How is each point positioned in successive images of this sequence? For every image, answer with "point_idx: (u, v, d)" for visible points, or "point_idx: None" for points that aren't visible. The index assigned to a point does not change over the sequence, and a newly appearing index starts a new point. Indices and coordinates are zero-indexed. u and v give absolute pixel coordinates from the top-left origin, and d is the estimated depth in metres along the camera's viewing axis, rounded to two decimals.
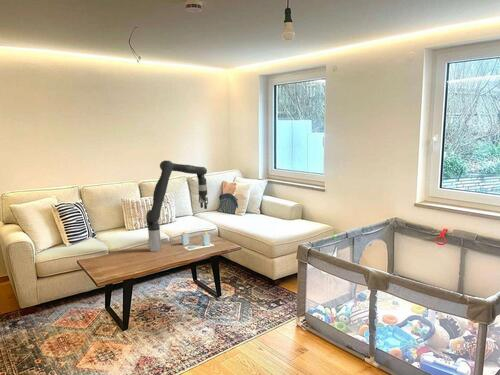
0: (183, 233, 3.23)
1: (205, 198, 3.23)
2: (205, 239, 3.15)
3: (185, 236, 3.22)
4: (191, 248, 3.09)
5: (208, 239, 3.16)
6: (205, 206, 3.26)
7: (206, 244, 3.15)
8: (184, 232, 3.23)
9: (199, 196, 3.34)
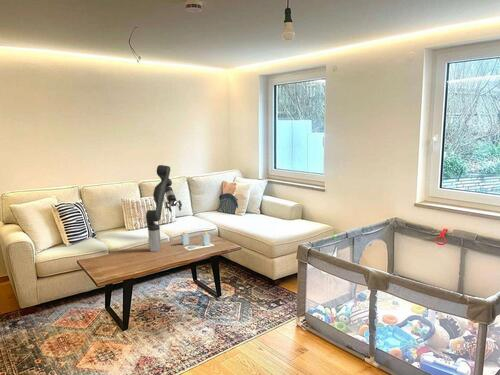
0: (183, 233, 3.23)
1: (180, 201, 3.47)
2: (205, 239, 3.15)
3: (185, 236, 3.22)
4: (191, 248, 3.09)
5: (208, 239, 3.16)
6: (180, 207, 3.43)
7: (206, 244, 3.15)
8: (184, 232, 3.23)
9: (166, 202, 3.41)
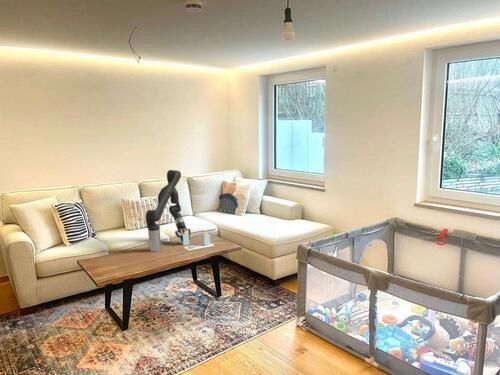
0: None
1: None
2: (205, 239, 3.15)
3: (185, 236, 3.22)
4: (191, 248, 3.09)
5: (208, 239, 3.16)
6: None
7: (206, 244, 3.15)
8: (185, 232, 3.23)
9: None
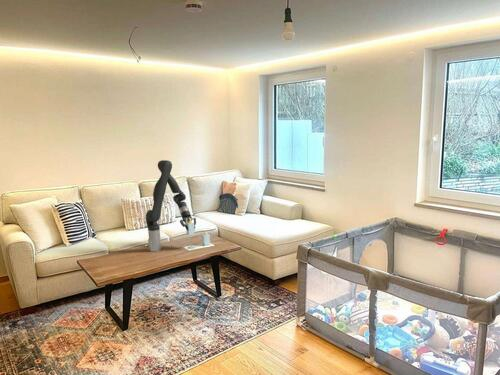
0: (189, 221, 3.09)
1: (195, 218, 3.16)
2: (205, 239, 3.15)
3: (191, 225, 3.08)
4: (191, 248, 3.09)
5: (208, 239, 3.16)
6: (194, 226, 3.12)
7: (206, 244, 3.15)
8: (190, 221, 3.10)
9: None
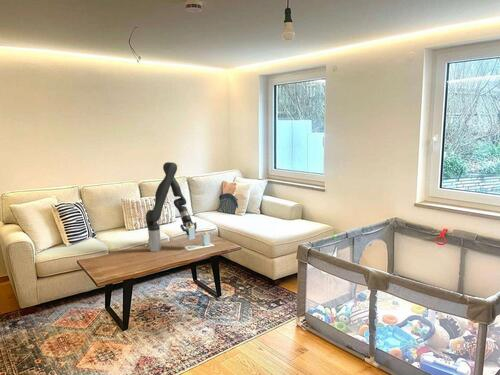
0: (189, 227, 3.08)
1: None
2: (205, 239, 3.15)
3: (191, 230, 3.08)
4: (191, 248, 3.09)
5: (208, 239, 3.16)
6: None
7: (206, 244, 3.15)
8: (191, 226, 3.08)
9: (181, 224, 3.11)
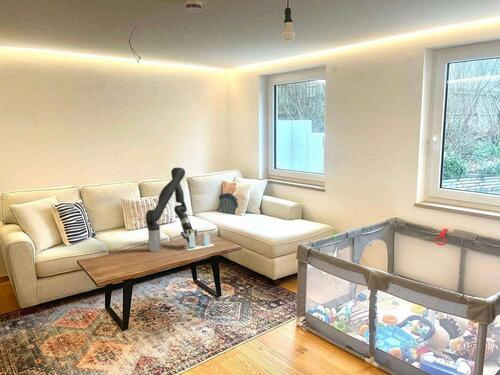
0: (190, 234, 3.09)
1: (196, 230, 3.17)
2: (205, 239, 3.15)
3: (192, 238, 3.09)
4: (191, 248, 3.09)
5: (208, 239, 3.16)
6: (195, 238, 3.12)
7: (206, 244, 3.15)
8: (191, 233, 3.09)
9: None
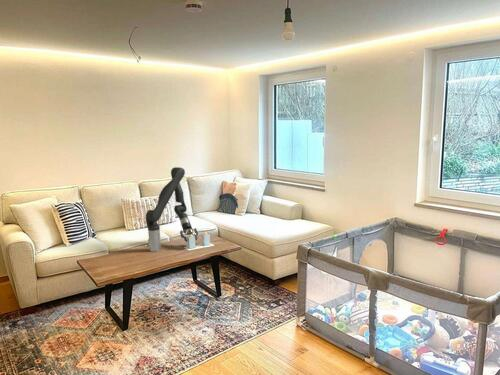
0: (190, 236, 3.09)
1: (196, 229, 3.18)
2: (205, 239, 3.15)
3: (192, 239, 3.09)
4: None
5: (208, 239, 3.16)
6: (196, 236, 3.14)
7: (206, 244, 3.15)
8: (191, 235, 3.09)
9: (181, 230, 3.12)
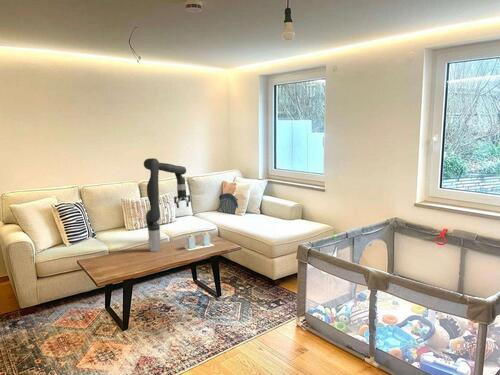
0: (190, 235, 3.10)
1: (189, 196, 3.35)
2: (205, 239, 3.15)
3: (192, 239, 3.09)
4: None
5: (208, 239, 3.16)
6: (188, 204, 3.35)
7: (206, 244, 3.15)
8: (191, 235, 3.10)
9: (176, 197, 3.29)
